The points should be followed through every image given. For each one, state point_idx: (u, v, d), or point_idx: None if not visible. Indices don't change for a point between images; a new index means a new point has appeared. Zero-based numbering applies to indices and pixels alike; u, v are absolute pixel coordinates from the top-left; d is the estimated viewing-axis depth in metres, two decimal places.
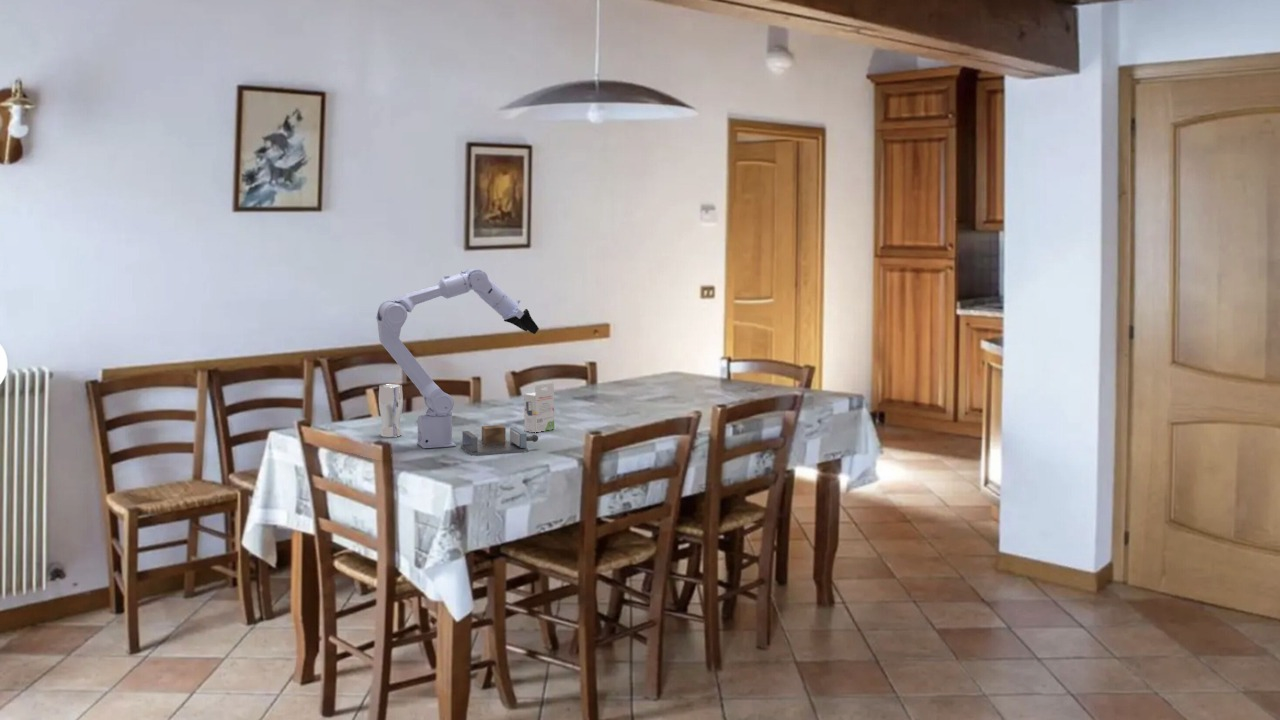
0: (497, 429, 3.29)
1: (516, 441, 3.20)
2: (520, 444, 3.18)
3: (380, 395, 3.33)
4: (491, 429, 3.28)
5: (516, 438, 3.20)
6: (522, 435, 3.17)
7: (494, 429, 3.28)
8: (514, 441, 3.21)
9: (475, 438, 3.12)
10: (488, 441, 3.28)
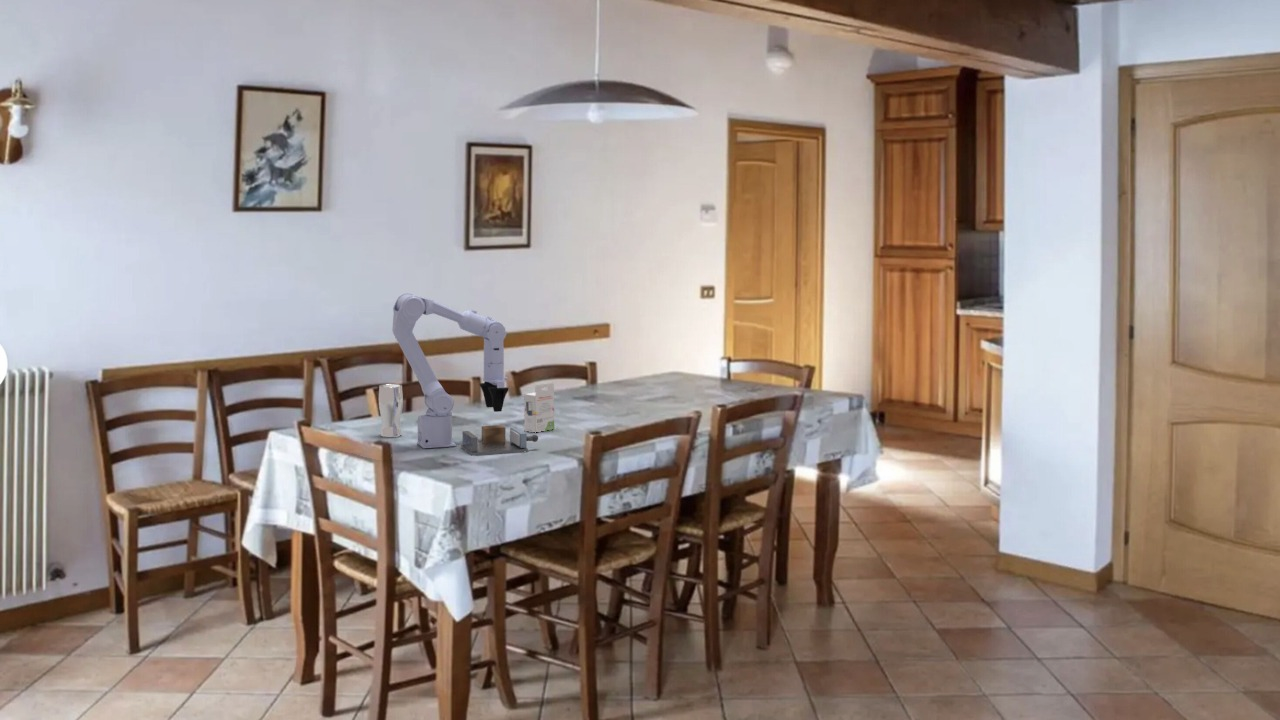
0: (497, 429, 3.29)
1: (516, 441, 3.20)
2: (520, 444, 3.18)
3: (380, 395, 3.33)
4: (491, 429, 3.28)
5: (516, 438, 3.20)
6: (522, 435, 3.17)
7: (494, 429, 3.28)
8: (514, 441, 3.21)
9: (475, 438, 3.12)
10: (488, 441, 3.28)
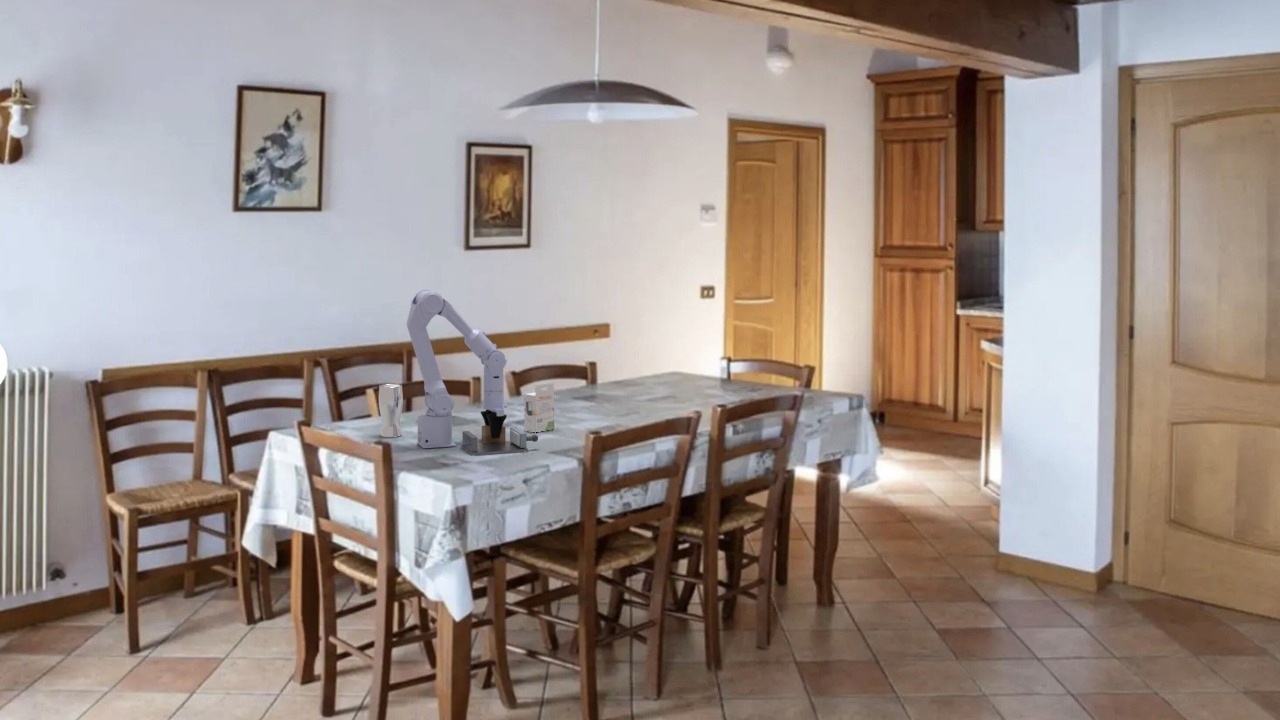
0: None
1: (516, 441, 3.20)
2: (520, 444, 3.18)
3: (380, 395, 3.33)
4: None
5: (516, 438, 3.20)
6: (522, 435, 3.17)
7: None
8: (514, 441, 3.21)
9: (475, 438, 3.12)
10: (488, 441, 3.28)
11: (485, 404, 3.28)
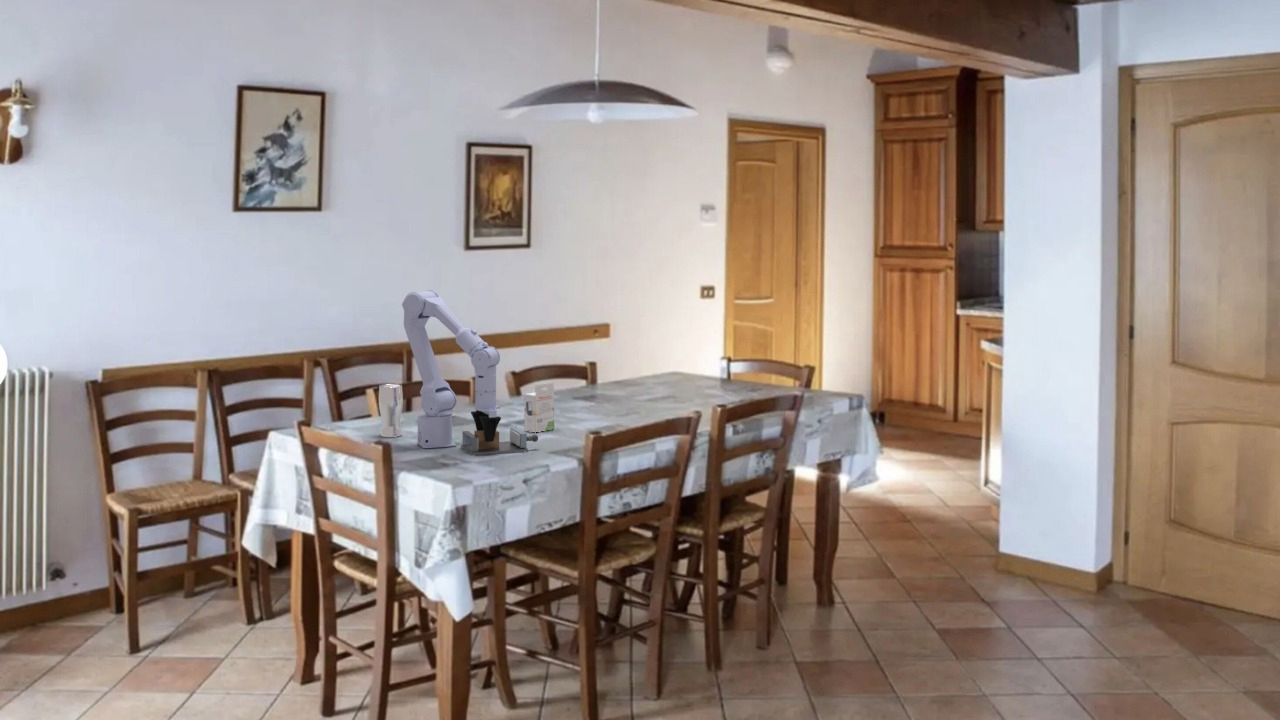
0: None
1: (516, 441, 3.20)
2: (520, 444, 3.18)
3: (380, 395, 3.33)
4: None
5: (516, 438, 3.20)
6: (522, 435, 3.17)
7: None
8: (514, 441, 3.21)
9: (475, 438, 3.12)
10: (481, 446, 3.16)
11: (477, 405, 3.15)
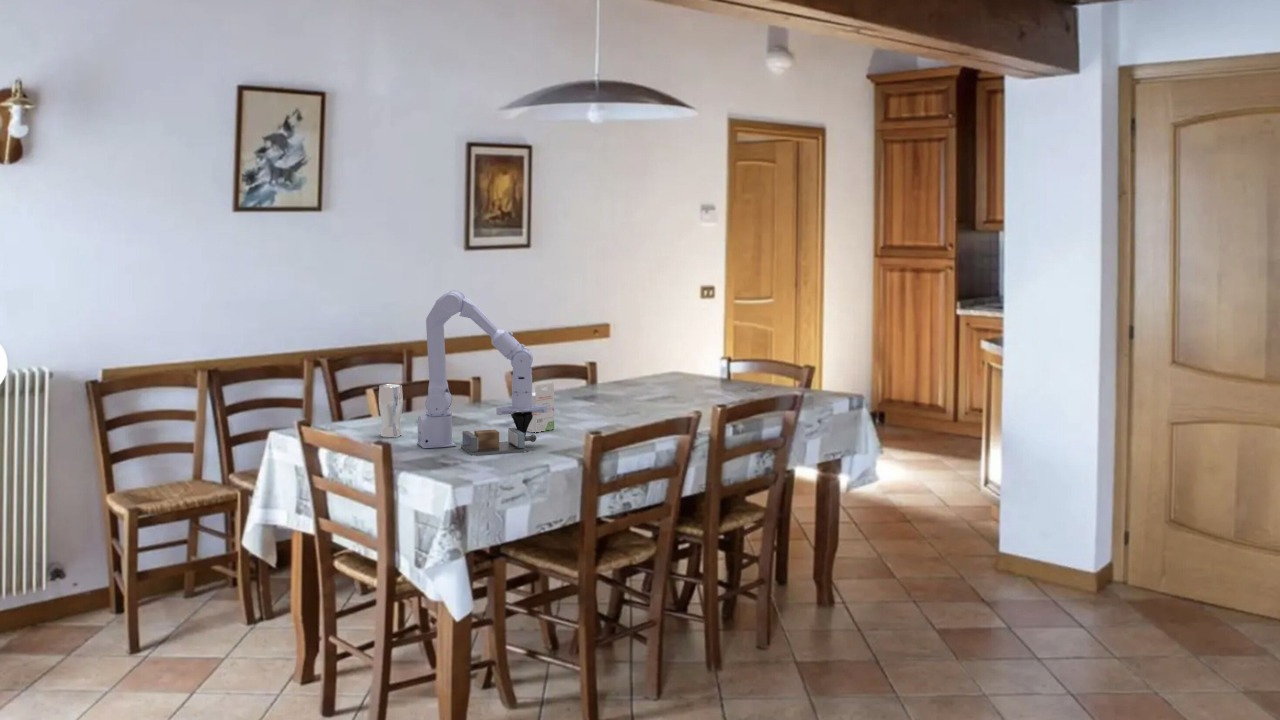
0: (490, 434, 3.17)
1: (514, 441, 3.19)
2: (518, 444, 3.18)
3: (380, 395, 3.33)
4: (484, 434, 3.16)
5: (514, 438, 3.19)
6: (520, 435, 3.17)
7: (487, 434, 3.16)
8: (512, 441, 3.21)
9: (475, 438, 3.12)
10: (481, 446, 3.16)
11: None
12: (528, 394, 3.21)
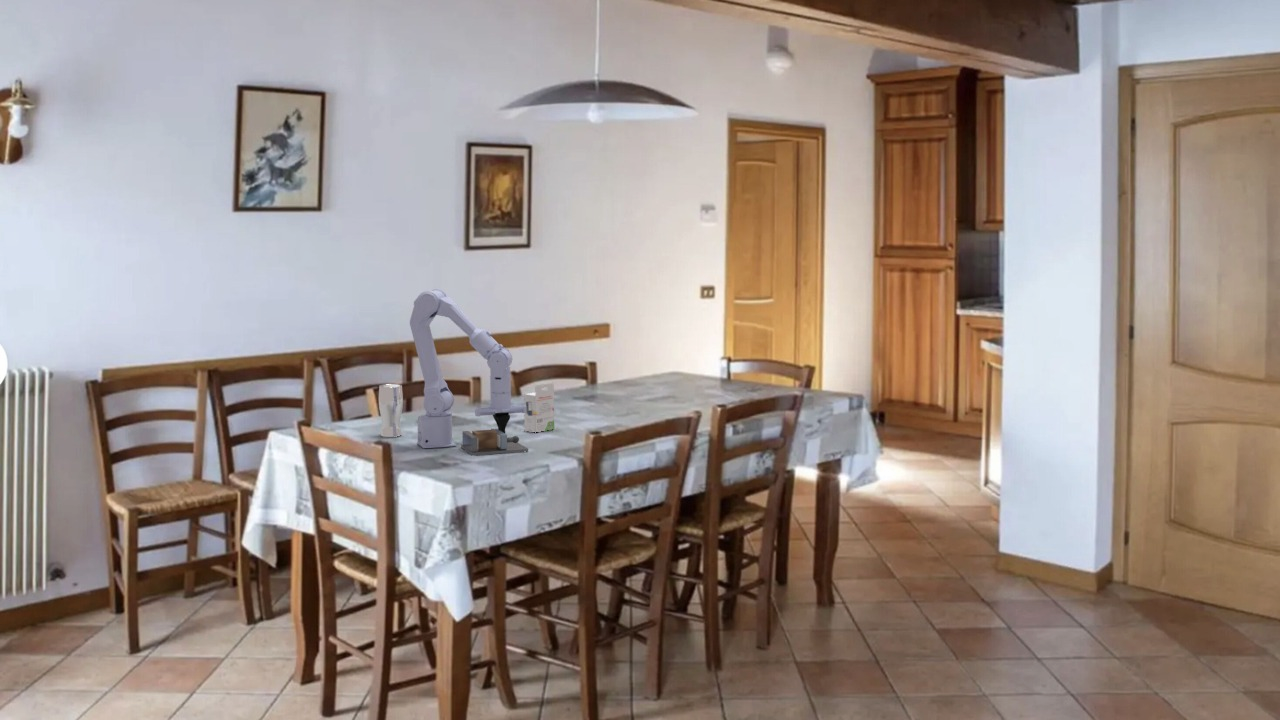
0: (488, 434, 3.16)
1: (497, 443, 3.17)
2: (500, 446, 3.16)
3: (380, 395, 3.33)
4: (482, 434, 3.16)
5: (497, 439, 3.17)
6: (503, 436, 3.15)
7: (485, 434, 3.16)
8: None
9: (475, 438, 3.12)
10: (479, 446, 3.16)
11: None
12: (507, 394, 3.19)
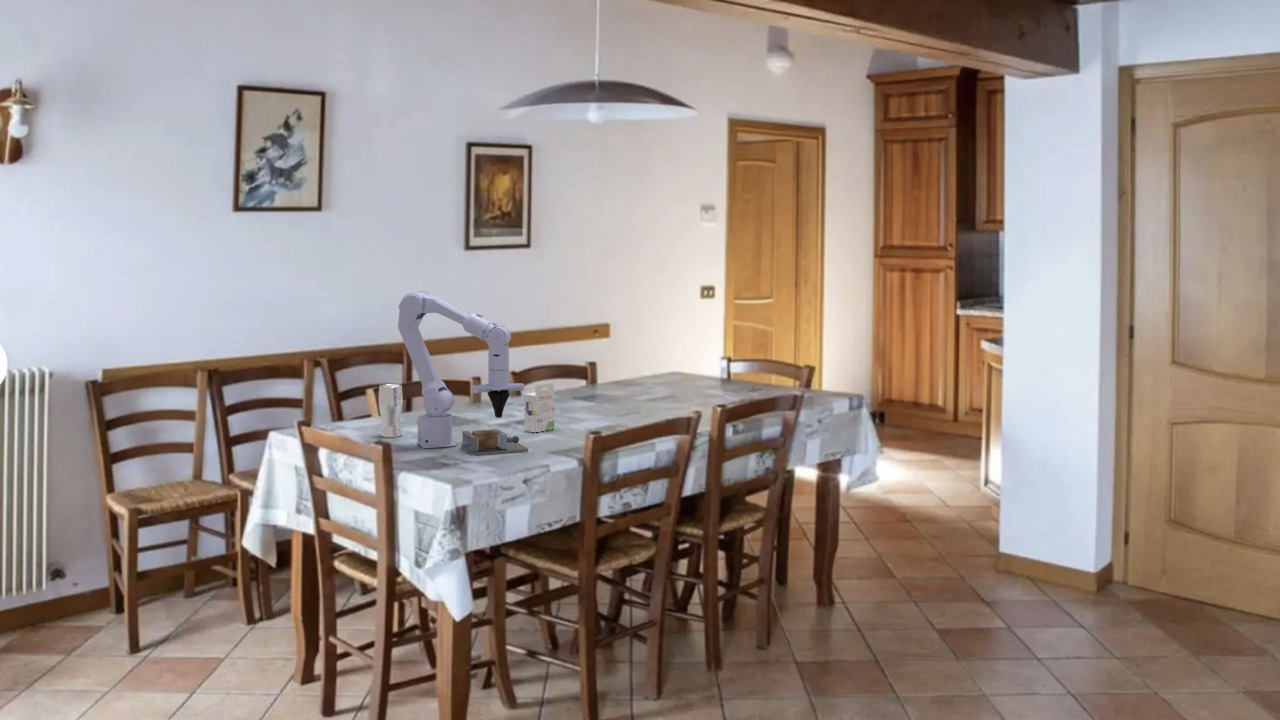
0: (488, 434, 3.16)
1: (497, 443, 3.17)
2: (501, 446, 3.16)
3: (380, 395, 3.33)
4: (482, 434, 3.16)
5: (497, 439, 3.17)
6: (503, 436, 3.15)
7: (485, 434, 3.16)
8: None
9: (475, 438, 3.12)
10: (479, 446, 3.16)
11: None
12: (505, 372, 3.17)
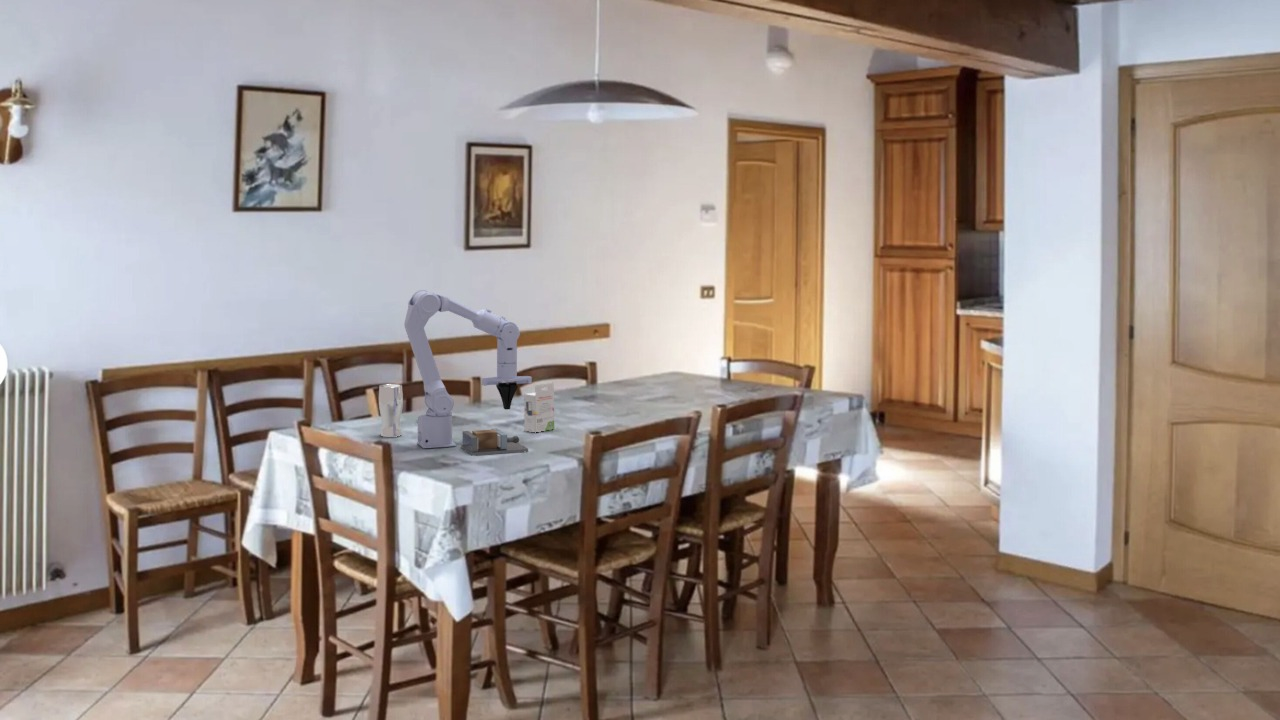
0: (488, 434, 3.16)
1: (497, 443, 3.17)
2: (501, 446, 3.16)
3: (380, 395, 3.33)
4: (482, 434, 3.16)
5: (497, 439, 3.17)
6: (503, 436, 3.15)
7: (485, 434, 3.16)
8: None
9: (475, 438, 3.12)
10: (479, 446, 3.16)
11: None
12: (513, 365, 3.28)
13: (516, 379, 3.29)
